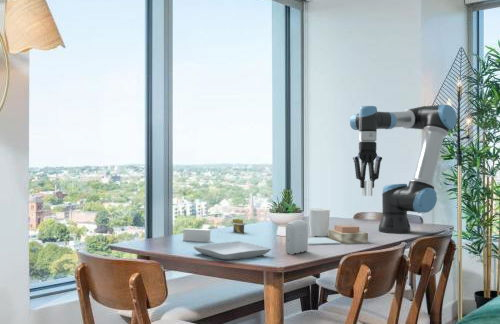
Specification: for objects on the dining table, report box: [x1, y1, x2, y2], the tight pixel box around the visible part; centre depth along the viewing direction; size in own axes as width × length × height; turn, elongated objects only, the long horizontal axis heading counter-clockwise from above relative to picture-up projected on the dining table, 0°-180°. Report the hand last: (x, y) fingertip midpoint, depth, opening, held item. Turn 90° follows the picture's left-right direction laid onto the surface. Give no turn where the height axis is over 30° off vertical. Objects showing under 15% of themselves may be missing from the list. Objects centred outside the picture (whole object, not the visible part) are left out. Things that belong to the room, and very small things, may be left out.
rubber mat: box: [308, 236, 341, 246], centre depth 242 cm, size 14×16×1 cm
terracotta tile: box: [333, 224, 360, 233], centre depth 245 cm, size 8×8×2 cm
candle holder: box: [308, 208, 331, 238], centre depth 261 cm, size 10×10×12 cm
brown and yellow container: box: [229, 218, 247, 234], centre depth 270 cm, size 12×18×7 cm, turn 40°
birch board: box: [327, 229, 369, 245], centre depth 245 cm, size 12×14×4 cm
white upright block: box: [285, 219, 309, 255], centre depth 214 cm, size 10×4×12 cm, turn 140°
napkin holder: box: [182, 227, 211, 243], centre depth 242 cm, size 15×11×6 cm
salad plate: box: [193, 240, 272, 261], centre depth 207 cm, size 21×21×3 cm
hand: (367, 195), depth 247 cm, fingers open, 2 cm apart
